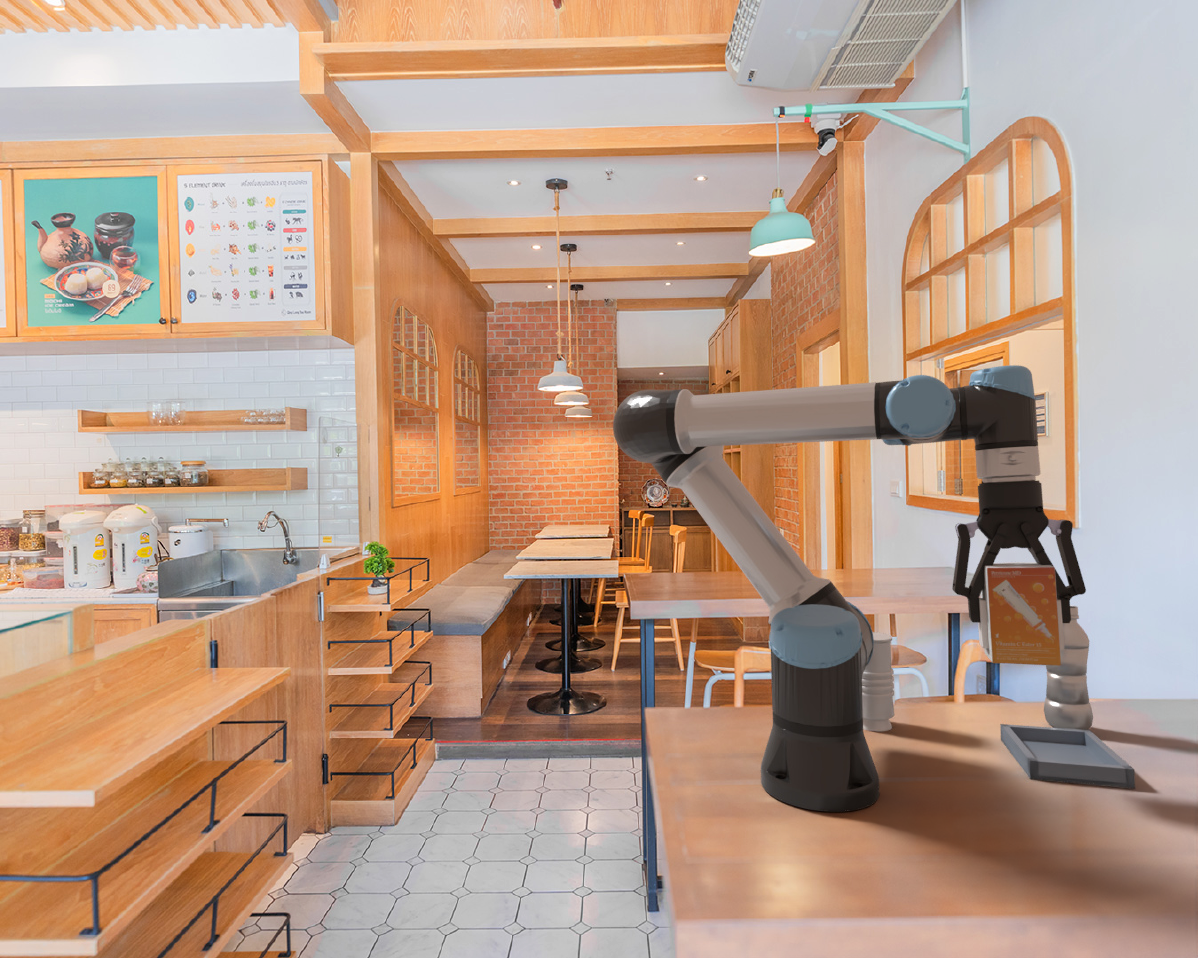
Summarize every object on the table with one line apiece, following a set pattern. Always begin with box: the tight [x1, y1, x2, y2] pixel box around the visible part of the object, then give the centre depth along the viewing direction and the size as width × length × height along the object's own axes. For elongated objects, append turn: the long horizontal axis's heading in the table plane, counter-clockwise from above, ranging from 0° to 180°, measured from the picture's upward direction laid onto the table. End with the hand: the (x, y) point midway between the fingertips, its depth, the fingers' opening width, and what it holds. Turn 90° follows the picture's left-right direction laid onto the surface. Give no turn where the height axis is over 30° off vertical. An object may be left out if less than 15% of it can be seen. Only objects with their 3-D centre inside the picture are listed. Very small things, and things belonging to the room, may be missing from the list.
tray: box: [999, 723, 1136, 789], centre depth 98 cm, size 12×15×2 cm
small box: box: [980, 561, 1061, 666], centre depth 93 cm, size 8×6×13 cm
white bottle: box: [862, 631, 895, 732], centre depth 115 cm, size 7×7×15 cm
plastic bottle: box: [1043, 604, 1094, 730], centre depth 111 cm, size 6×7×20 cm
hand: (1020, 646), depth 93 cm, fingers closed on small box, 8 cm apart
